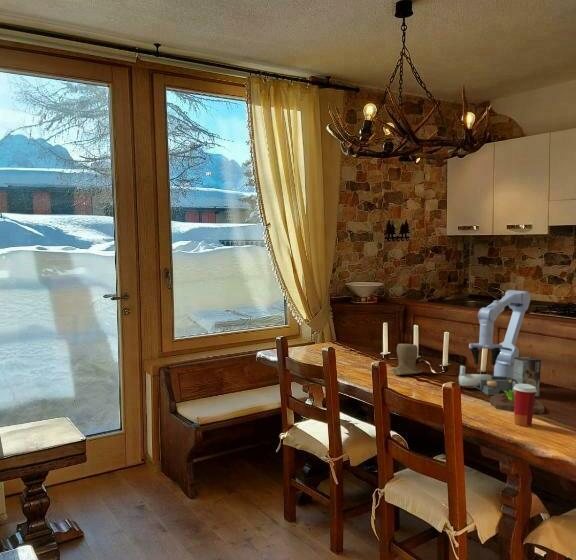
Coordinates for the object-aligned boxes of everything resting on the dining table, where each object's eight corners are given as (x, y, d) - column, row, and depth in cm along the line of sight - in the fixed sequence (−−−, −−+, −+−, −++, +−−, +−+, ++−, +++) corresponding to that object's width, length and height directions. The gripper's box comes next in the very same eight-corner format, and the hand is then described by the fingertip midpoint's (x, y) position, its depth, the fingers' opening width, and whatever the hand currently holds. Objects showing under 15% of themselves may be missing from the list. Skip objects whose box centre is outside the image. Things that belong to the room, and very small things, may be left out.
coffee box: (529, 392, 247) (531, 356, 246) (539, 396, 241) (542, 359, 240) (511, 393, 245) (513, 357, 244) (521, 397, 239) (523, 360, 238)
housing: (473, 386, 255) (473, 375, 255) (507, 387, 256) (508, 376, 256) (486, 395, 240) (487, 383, 240) (523, 396, 241) (524, 384, 240)
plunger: (484, 390, 244) (485, 380, 244) (494, 391, 244) (494, 380, 244) (488, 393, 240) (489, 382, 240) (497, 393, 240) (498, 383, 240)
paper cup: (528, 421, 206) (530, 383, 205) (538, 428, 198) (541, 388, 197) (507, 420, 206) (509, 382, 205) (516, 427, 198) (519, 388, 197)
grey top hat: (409, 370, 284) (411, 340, 283) (425, 375, 274) (426, 344, 273) (384, 372, 278) (386, 342, 277) (399, 377, 267) (401, 346, 266)
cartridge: (458, 384, 253) (459, 365, 252) (486, 384, 254) (487, 365, 253) (462, 386, 248) (463, 367, 247) (491, 387, 248) (492, 368, 248)
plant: (487, 397, 237) (489, 371, 237) (537, 402, 233) (539, 376, 232) (492, 411, 218) (493, 382, 217) (546, 416, 213) (548, 387, 212)
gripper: (473, 335, 248) (471, 366, 249) (505, 336, 249) (504, 366, 250) (467, 333, 255) (466, 362, 256) (499, 333, 256) (497, 363, 257)
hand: (484, 364), depth 253 cm, fingers open, 7 cm apart
